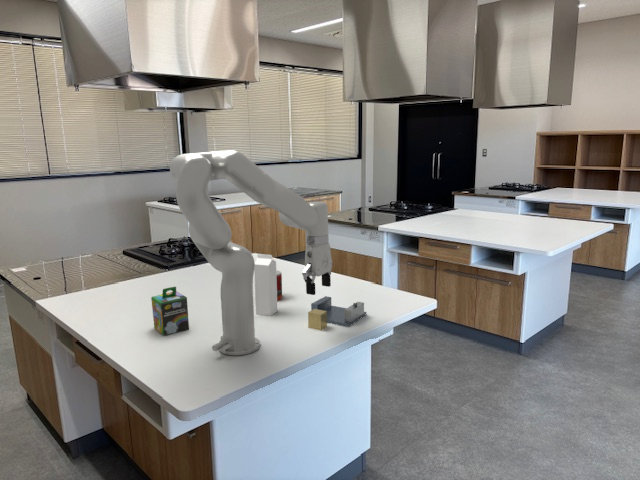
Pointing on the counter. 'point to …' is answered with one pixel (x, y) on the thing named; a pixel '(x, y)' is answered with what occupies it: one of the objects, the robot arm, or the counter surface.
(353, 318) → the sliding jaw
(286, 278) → the counter surface
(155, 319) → the chalk box
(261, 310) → the milk
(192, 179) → the robot arm
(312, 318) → the brass block
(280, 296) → the canned food
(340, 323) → the vise
